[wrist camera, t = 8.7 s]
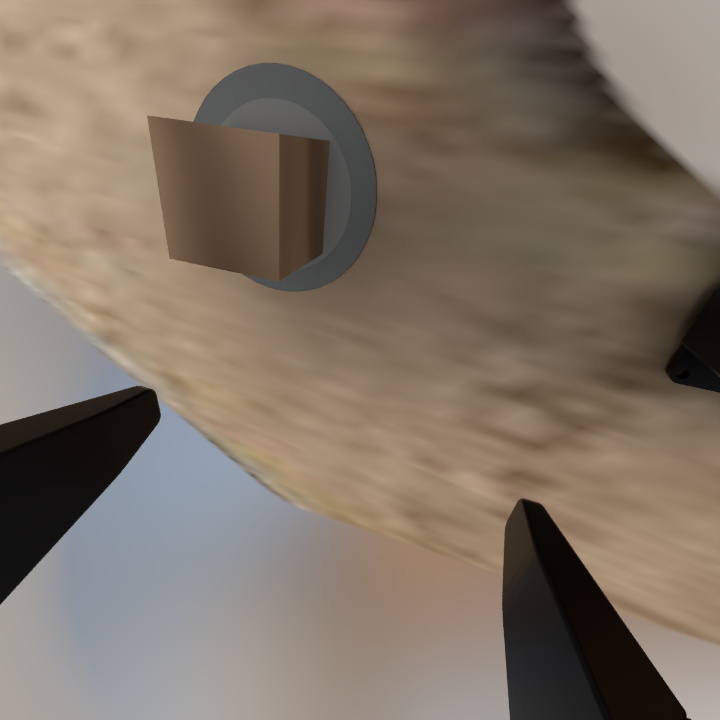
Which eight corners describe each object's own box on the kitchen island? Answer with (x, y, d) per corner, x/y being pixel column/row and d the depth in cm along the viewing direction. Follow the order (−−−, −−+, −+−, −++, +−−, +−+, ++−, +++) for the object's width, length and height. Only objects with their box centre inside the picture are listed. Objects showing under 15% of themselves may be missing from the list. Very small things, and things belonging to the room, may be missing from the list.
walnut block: (329, 141, 16) (279, 134, 12) (322, 253, 18) (279, 281, 14) (228, 126, 17) (147, 115, 12) (235, 236, 19) (169, 258, 15)
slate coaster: (392, 74, 14) (392, 74, 14) (363, 307, 19) (362, 307, 19) (174, 54, 16) (172, 53, 16) (200, 272, 21) (199, 273, 21)
